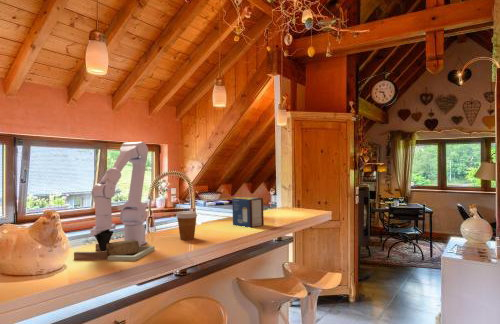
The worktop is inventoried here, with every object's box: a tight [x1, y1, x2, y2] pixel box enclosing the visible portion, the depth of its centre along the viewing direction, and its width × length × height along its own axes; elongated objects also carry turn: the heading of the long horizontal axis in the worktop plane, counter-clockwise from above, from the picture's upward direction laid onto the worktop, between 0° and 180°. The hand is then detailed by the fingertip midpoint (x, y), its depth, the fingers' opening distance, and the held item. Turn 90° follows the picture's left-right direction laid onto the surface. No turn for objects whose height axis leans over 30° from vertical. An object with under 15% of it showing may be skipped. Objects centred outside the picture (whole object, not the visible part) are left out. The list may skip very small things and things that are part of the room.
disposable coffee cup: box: [176, 211, 198, 241], centre depth 165 cm, size 10×10×12 cm
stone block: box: [105, 240, 139, 257], centre depth 135 cm, size 6×12×5 cm, turn 126°
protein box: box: [231, 196, 265, 228], centre depth 202 cm, size 10×15×16 cm
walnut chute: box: [73, 243, 108, 261], centre depth 136 cm, size 15×12×2 cm
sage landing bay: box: [107, 245, 156, 262], centre depth 135 cm, size 17×10×2 cm, turn 173°
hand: (103, 250), depth 136 cm, fingers closed
